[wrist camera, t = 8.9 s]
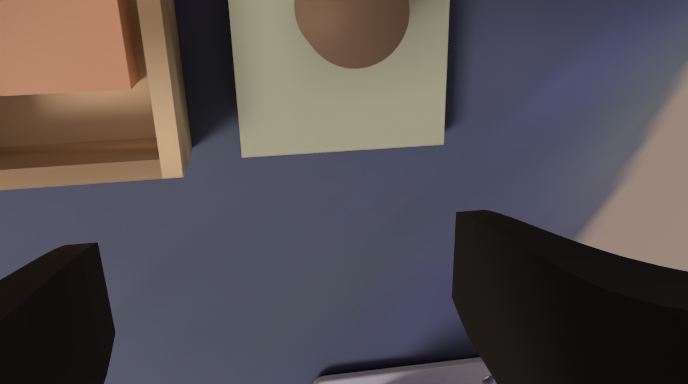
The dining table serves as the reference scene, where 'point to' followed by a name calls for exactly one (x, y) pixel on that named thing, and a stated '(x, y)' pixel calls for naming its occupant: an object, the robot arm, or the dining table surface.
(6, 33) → the block
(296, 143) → the lid
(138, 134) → the box
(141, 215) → the dining table surface
